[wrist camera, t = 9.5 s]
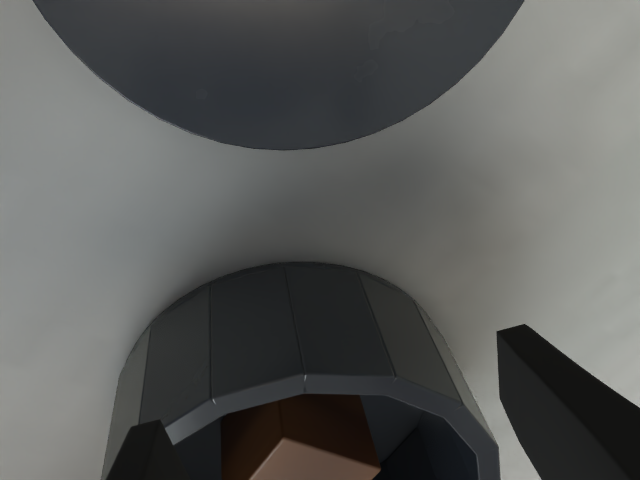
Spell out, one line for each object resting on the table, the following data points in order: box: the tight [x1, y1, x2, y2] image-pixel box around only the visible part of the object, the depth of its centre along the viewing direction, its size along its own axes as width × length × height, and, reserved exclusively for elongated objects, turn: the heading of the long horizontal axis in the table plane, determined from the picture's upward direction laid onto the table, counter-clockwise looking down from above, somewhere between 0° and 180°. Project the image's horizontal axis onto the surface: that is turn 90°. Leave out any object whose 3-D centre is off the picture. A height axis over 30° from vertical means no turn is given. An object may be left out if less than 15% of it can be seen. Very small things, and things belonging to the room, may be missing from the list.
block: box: [220, 393, 381, 480], centre depth 23 cm, size 4×4×4 cm
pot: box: [101, 262, 501, 480], centre depth 23 cm, size 14×14×6 cm
